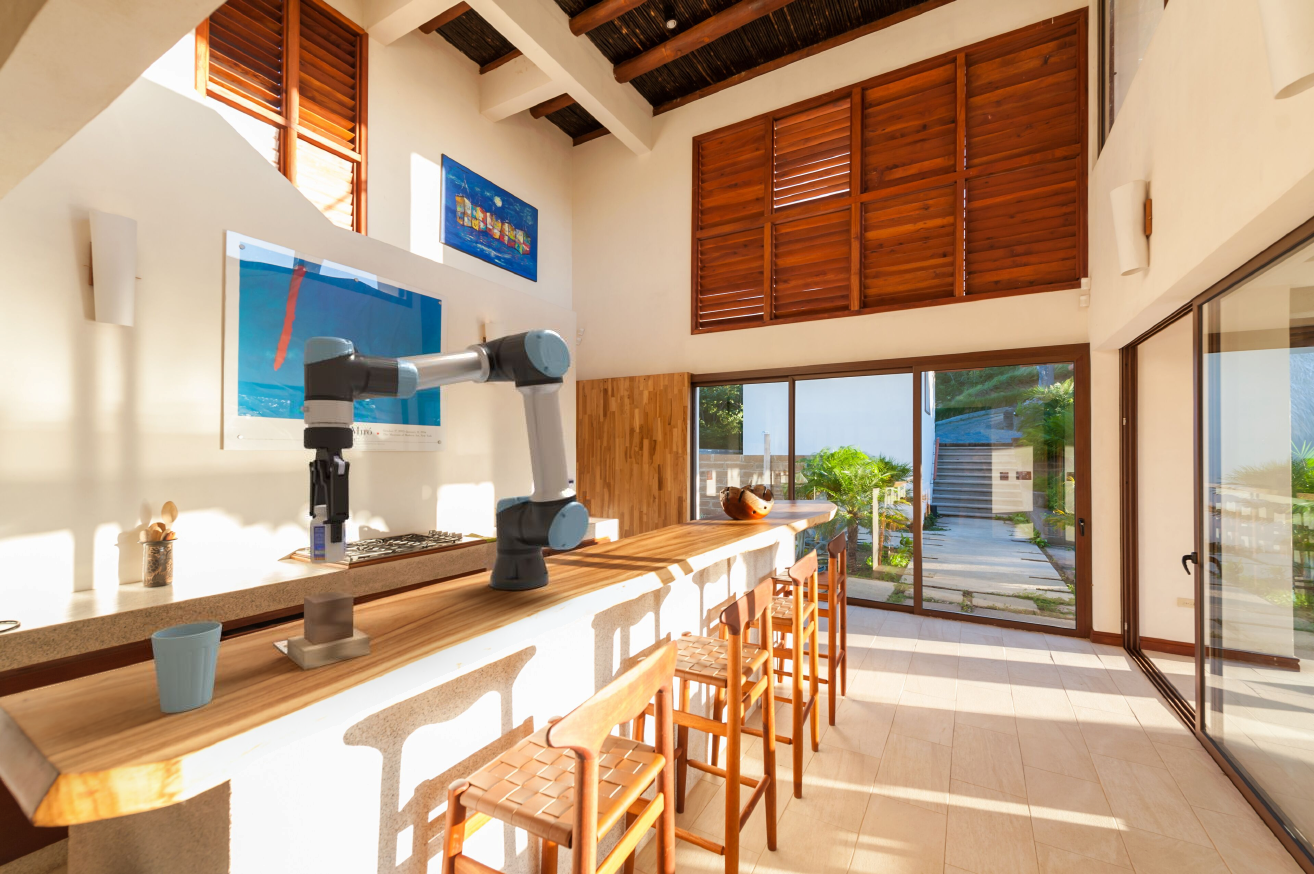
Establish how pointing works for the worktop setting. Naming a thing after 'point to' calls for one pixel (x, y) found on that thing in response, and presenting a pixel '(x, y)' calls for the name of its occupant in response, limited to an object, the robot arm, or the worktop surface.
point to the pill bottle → (320, 536)
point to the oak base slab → (327, 650)
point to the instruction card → (282, 646)
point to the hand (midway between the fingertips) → (328, 559)
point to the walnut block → (328, 617)
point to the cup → (186, 664)
